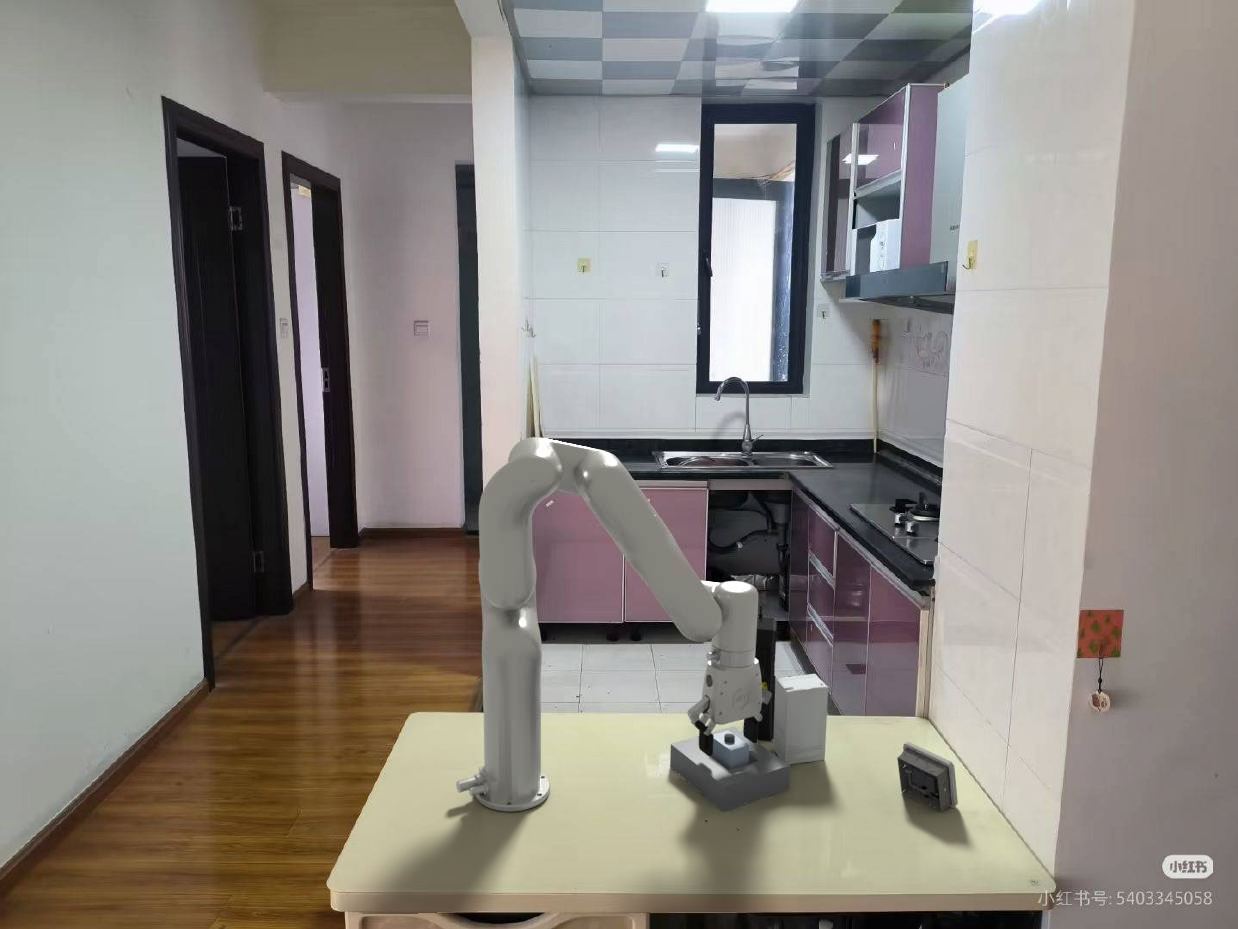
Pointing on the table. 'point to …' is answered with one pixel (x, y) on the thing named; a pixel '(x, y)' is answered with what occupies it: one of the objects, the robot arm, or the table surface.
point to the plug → (730, 750)
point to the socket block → (730, 773)
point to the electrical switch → (927, 777)
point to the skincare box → (800, 718)
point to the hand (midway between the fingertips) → (728, 746)
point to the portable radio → (766, 671)
